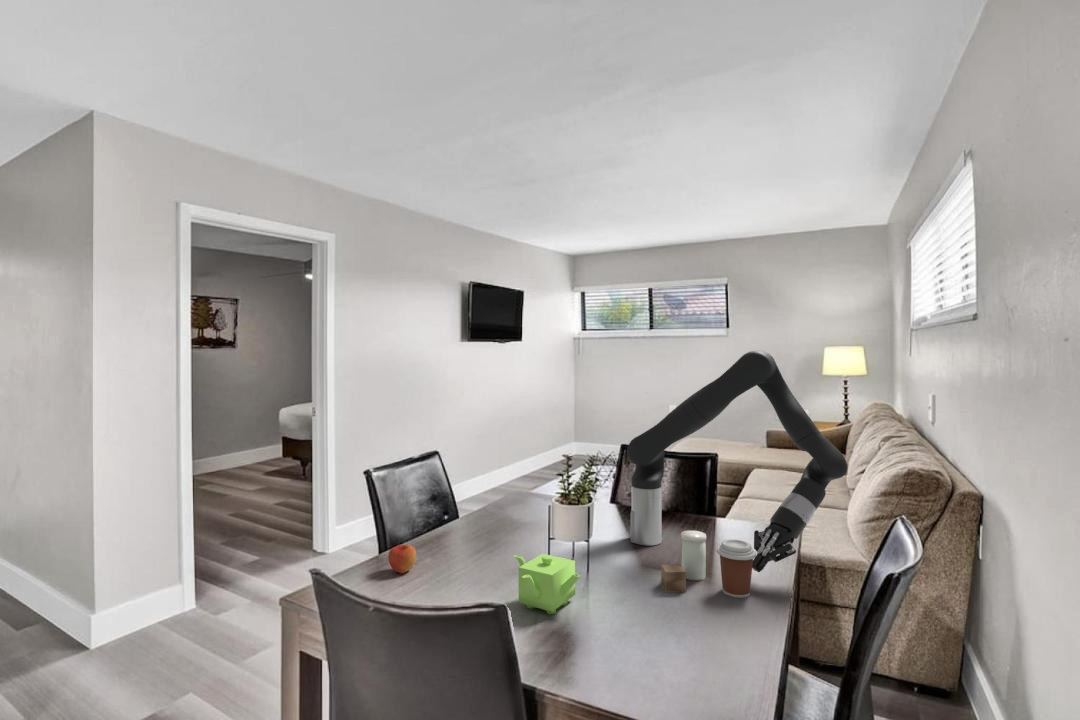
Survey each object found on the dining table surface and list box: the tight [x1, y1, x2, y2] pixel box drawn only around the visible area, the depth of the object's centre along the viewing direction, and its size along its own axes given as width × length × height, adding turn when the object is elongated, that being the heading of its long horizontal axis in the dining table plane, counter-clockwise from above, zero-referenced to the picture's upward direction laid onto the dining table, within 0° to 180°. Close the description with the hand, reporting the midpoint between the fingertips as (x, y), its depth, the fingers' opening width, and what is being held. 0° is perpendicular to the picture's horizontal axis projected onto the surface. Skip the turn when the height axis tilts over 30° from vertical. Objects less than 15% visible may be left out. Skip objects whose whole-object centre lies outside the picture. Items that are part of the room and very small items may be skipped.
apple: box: [388, 543, 417, 575], centre depth 153 cm, size 7×7×8 cm
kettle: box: [513, 553, 581, 615], centre depth 133 cm, size 15×14×11 cm
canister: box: [680, 530, 707, 581], centre depth 150 cm, size 6×6×11 cm
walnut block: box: [660, 563, 687, 593], centre depth 142 cm, size 5×5×5 cm
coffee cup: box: [716, 538, 757, 599], centre depth 139 cm, size 9×9×12 cm
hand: (754, 569), depth 141 cm, fingers closed
